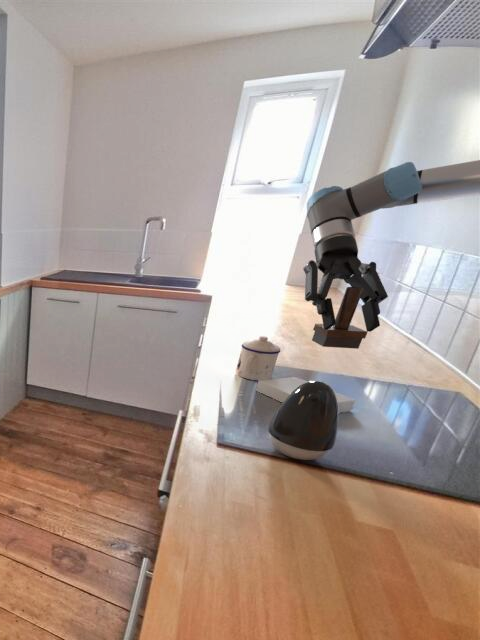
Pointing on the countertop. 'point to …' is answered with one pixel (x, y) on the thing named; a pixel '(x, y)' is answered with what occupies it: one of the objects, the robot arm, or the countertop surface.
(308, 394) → the dark grey egg-shaped speaker
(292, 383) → the white tile
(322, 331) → the scrub brush
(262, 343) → the teacup with lid
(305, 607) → the countertop surface
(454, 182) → the robot arm
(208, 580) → the countertop surface
